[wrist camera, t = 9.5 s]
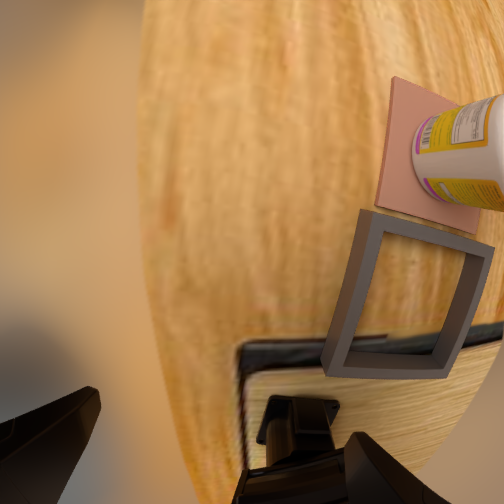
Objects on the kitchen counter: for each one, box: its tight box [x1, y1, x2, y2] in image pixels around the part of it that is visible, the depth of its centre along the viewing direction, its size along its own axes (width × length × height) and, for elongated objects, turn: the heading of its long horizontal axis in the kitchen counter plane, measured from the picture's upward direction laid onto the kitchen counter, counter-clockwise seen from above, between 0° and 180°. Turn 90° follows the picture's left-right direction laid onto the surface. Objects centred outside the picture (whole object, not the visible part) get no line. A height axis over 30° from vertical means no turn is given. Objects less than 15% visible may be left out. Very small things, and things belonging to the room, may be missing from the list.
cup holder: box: [320, 209, 495, 379], centre depth 20 cm, size 12×12×2 cm
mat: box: [374, 76, 481, 235], centre depth 18 cm, size 10×10×1 cm
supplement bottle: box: [412, 94, 504, 212], centre depth 12 cm, size 7×7×13 cm
